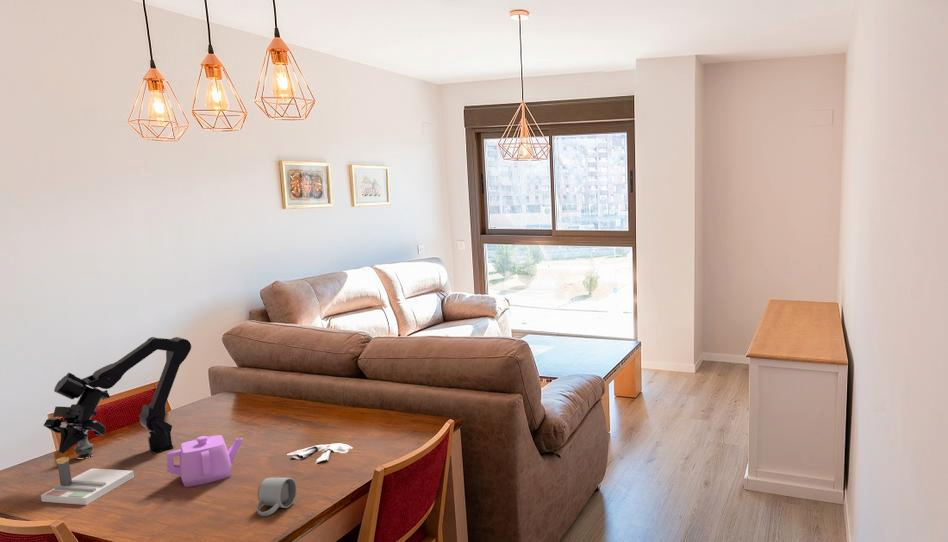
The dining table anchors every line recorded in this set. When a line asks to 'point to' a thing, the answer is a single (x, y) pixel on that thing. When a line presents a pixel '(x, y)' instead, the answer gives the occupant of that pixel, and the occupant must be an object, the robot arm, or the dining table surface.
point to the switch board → (88, 486)
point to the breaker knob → (64, 471)
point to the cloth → (325, 456)
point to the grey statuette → (84, 448)
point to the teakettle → (203, 460)
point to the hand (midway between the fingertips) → (60, 452)
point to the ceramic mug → (276, 494)
